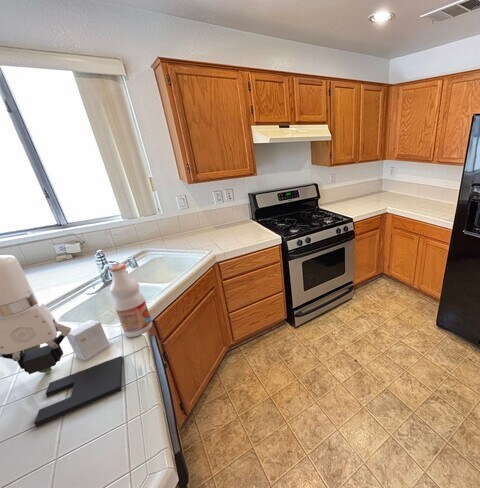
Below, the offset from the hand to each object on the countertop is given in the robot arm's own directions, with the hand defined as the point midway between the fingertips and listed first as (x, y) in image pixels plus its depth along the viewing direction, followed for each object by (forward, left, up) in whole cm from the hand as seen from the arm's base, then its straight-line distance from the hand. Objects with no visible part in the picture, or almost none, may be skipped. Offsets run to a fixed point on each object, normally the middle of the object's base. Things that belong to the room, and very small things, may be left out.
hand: (44, 363), depth 70 cm
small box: (+4, +22, -14) cm, 27 cm away
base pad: (+4, +2, -14) cm, 15 cm away
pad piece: (0, 0, 0) cm, 0 cm away
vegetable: (-8, +19, -14) cm, 25 cm away
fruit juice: (+18, +26, -14) cm, 35 cm away
